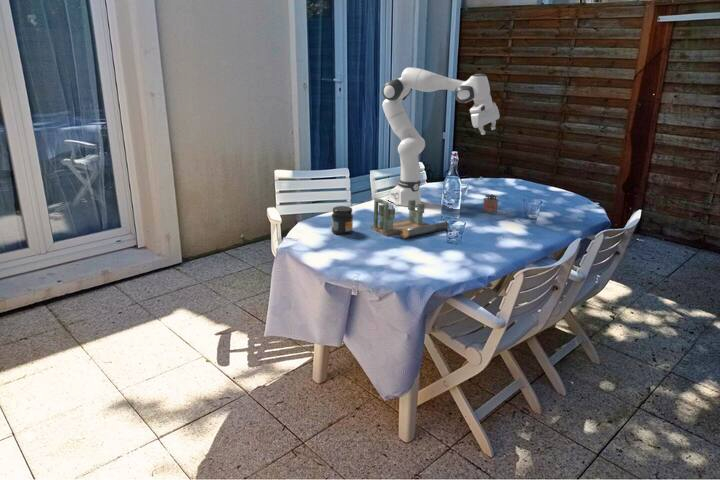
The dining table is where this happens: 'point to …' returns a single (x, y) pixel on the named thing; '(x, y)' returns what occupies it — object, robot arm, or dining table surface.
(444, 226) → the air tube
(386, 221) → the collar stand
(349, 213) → the supplement container
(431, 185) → the dining table surface
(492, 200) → the lighter
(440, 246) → the dining table surface
